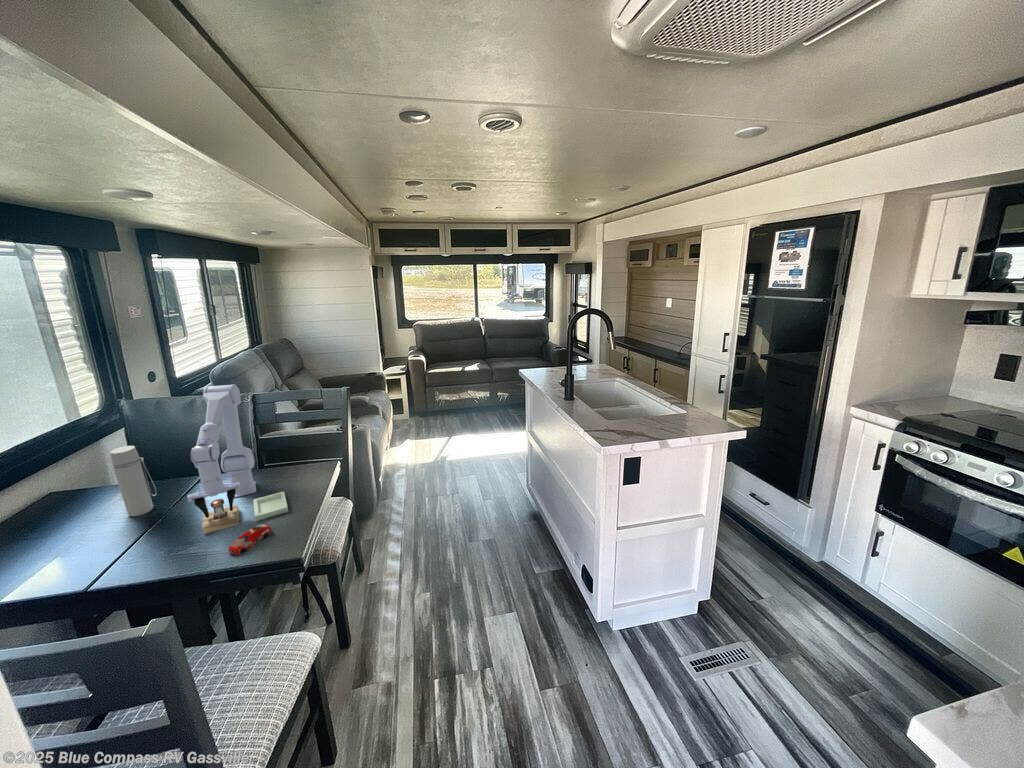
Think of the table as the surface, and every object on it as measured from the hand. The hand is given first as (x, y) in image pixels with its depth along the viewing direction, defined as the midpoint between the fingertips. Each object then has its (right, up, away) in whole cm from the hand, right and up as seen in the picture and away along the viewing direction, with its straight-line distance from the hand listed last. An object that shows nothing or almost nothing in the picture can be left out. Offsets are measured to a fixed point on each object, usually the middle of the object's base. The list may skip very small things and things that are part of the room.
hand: (219, 512), depth 141 cm
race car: (+17, -7, -10) cm, 21 cm away
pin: (0, -3, +1) cm, 4 cm away
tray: (+13, -1, +9) cm, 15 cm away
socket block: (0, -3, +1) cm, 4 cm away
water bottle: (-34, -2, +8) cm, 35 cm away
